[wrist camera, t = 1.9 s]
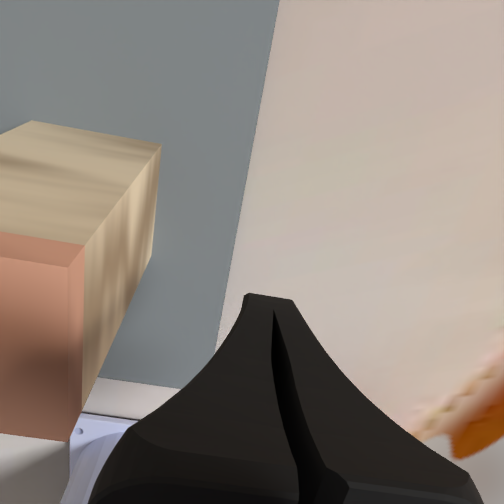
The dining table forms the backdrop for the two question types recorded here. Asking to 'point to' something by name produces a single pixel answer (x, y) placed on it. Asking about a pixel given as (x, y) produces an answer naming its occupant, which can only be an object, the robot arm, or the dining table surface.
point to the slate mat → (157, 131)
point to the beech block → (67, 265)
